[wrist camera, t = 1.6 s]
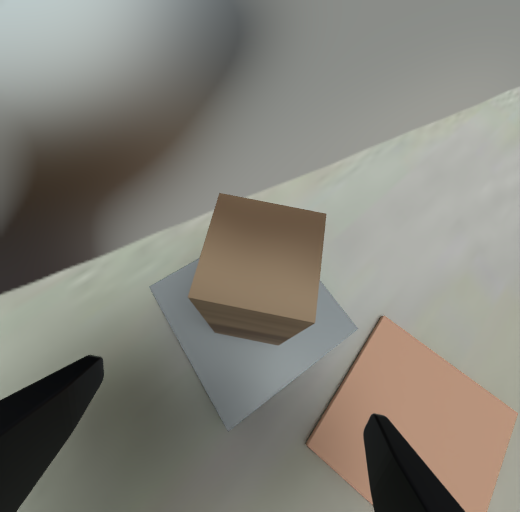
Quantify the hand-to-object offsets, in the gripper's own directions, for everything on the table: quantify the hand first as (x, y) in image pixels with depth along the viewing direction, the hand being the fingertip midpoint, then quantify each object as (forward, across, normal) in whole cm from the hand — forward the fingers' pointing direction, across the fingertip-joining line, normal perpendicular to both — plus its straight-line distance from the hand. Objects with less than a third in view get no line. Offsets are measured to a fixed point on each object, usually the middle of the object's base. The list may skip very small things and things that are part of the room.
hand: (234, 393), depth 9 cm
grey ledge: (+12, 0, +5) cm, 12 cm away
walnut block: (+10, 0, +3) cm, 11 cm away
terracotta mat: (+8, -13, +9) cm, 17 cm away
